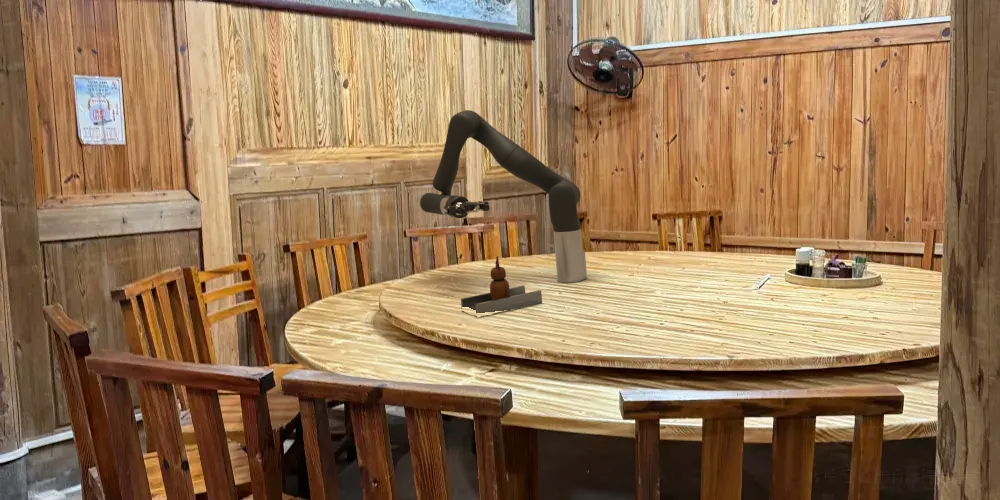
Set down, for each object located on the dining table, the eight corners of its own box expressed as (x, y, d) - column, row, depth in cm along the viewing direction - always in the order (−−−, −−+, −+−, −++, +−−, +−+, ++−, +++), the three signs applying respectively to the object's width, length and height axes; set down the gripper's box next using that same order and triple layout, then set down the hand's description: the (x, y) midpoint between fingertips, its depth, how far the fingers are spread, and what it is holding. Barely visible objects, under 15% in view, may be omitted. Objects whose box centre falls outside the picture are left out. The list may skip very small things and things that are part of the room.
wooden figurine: (508, 305, 251) (503, 256, 248) (489, 306, 252) (484, 257, 250) (512, 300, 257) (507, 252, 255) (494, 301, 259) (489, 253, 256)
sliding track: (524, 297, 265) (523, 285, 264) (542, 303, 255) (541, 290, 254) (461, 311, 255) (460, 298, 254) (478, 317, 245) (477, 304, 244)
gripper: (434, 198, 281) (455, 201, 267) (472, 192, 288) (494, 195, 273) (436, 220, 282) (457, 224, 268) (474, 214, 289) (496, 217, 275)
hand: (476, 209), depth 271 cm, fingers open, 8 cm apart
